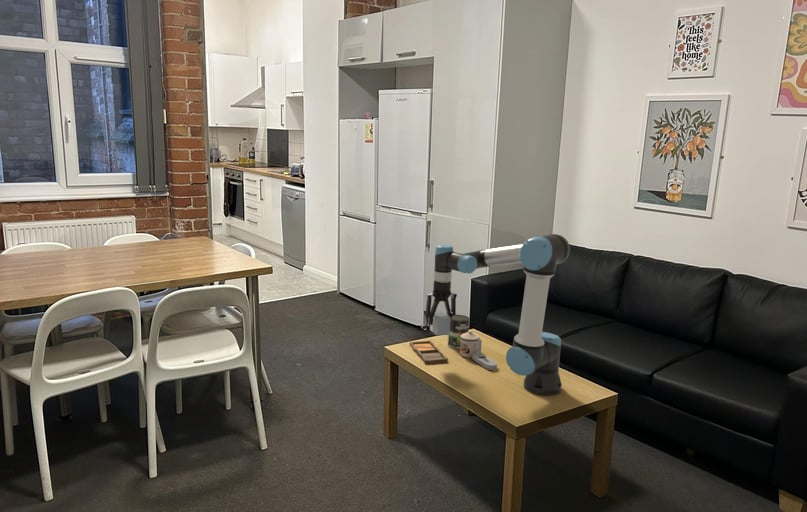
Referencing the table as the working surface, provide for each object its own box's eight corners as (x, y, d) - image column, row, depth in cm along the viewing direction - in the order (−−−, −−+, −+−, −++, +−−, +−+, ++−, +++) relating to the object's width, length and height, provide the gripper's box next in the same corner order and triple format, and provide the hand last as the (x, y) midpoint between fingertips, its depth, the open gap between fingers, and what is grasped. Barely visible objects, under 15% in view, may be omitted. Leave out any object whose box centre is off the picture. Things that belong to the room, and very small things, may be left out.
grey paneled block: (449, 334, 247) (450, 316, 245) (436, 335, 245) (437, 317, 243) (442, 328, 255) (443, 310, 254) (429, 328, 253) (430, 311, 252)
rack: (447, 362, 255) (447, 358, 255) (425, 364, 252) (425, 360, 252) (430, 343, 278) (430, 340, 278) (409, 345, 275) (409, 342, 275)
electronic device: (491, 351, 244) (471, 338, 257) (489, 371, 247) (470, 358, 260) (501, 349, 247) (481, 337, 260) (499, 370, 249) (479, 357, 262)
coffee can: (471, 347, 275) (473, 319, 272) (452, 349, 271) (453, 321, 269) (462, 340, 284) (464, 313, 281) (443, 342, 281) (445, 315, 278)
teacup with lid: (455, 353, 266) (456, 329, 264) (469, 349, 272) (470, 326, 269) (472, 361, 257) (473, 337, 254) (487, 357, 262) (488, 333, 260)
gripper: (459, 277, 252) (456, 326, 256) (419, 279, 246) (416, 329, 251) (466, 281, 245) (462, 332, 249) (424, 283, 239) (422, 335, 244)
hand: (439, 330), depth 250 cm, fingers closed on grey paneled block, 6 cm apart
